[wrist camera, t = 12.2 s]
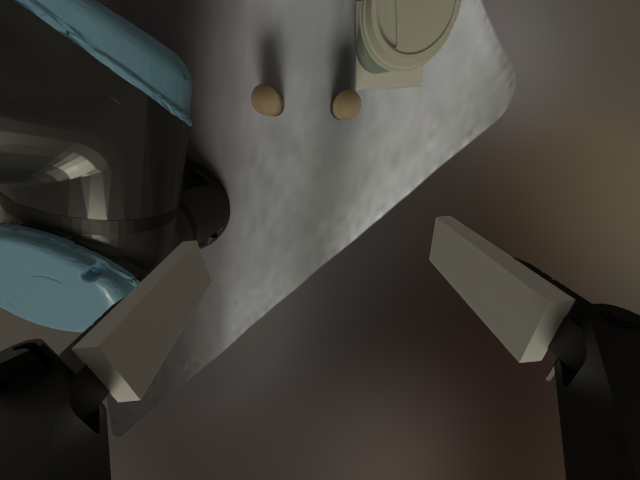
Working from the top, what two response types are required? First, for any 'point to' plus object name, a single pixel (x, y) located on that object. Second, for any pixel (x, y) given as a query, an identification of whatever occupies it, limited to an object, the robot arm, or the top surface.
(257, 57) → the top surface
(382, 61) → the coffee cup
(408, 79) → the felt mat
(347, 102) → the spacer posts
